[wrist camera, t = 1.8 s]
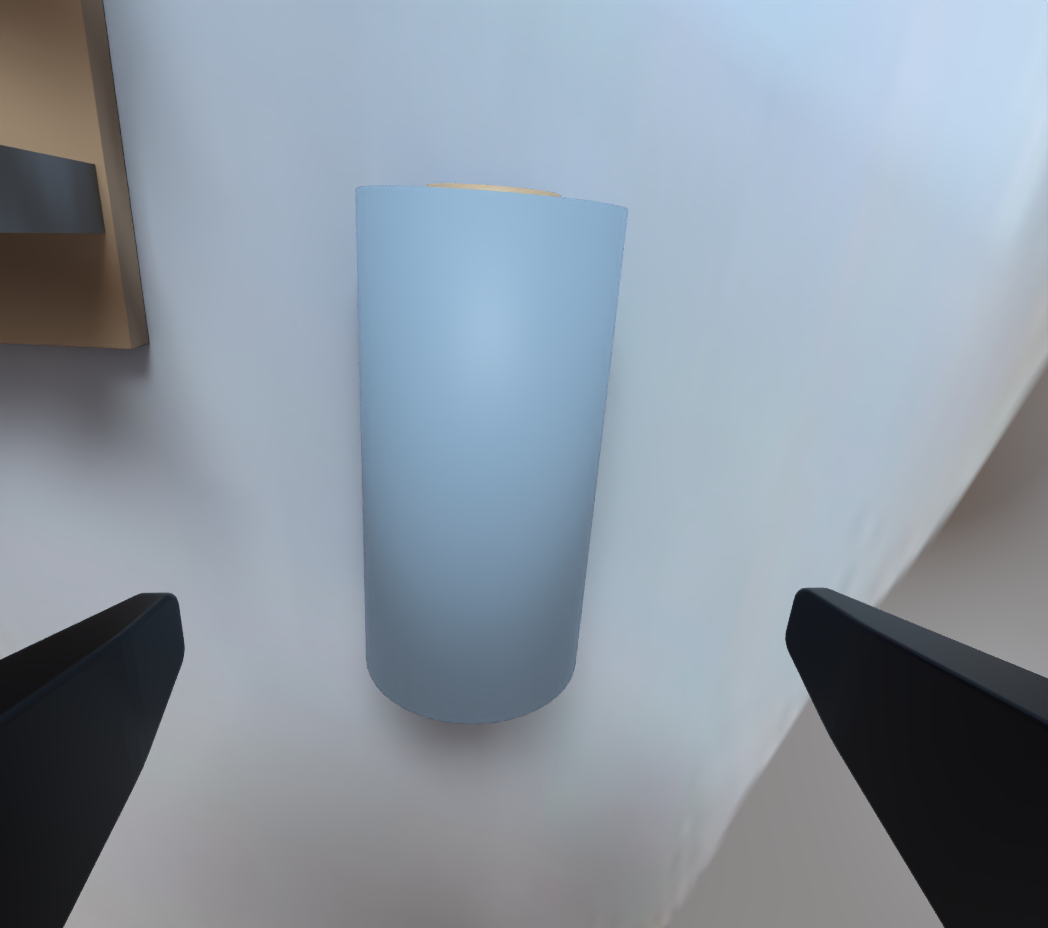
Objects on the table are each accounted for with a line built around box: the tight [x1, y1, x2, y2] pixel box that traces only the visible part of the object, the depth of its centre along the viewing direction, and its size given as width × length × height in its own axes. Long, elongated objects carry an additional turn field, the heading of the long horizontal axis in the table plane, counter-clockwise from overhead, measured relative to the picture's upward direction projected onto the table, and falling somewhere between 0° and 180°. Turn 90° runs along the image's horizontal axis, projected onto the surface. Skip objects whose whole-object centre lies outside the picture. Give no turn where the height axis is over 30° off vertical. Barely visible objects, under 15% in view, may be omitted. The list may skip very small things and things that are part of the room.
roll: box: [356, 183, 628, 724], centre depth 16 cm, size 12×6×6 cm, turn 176°
